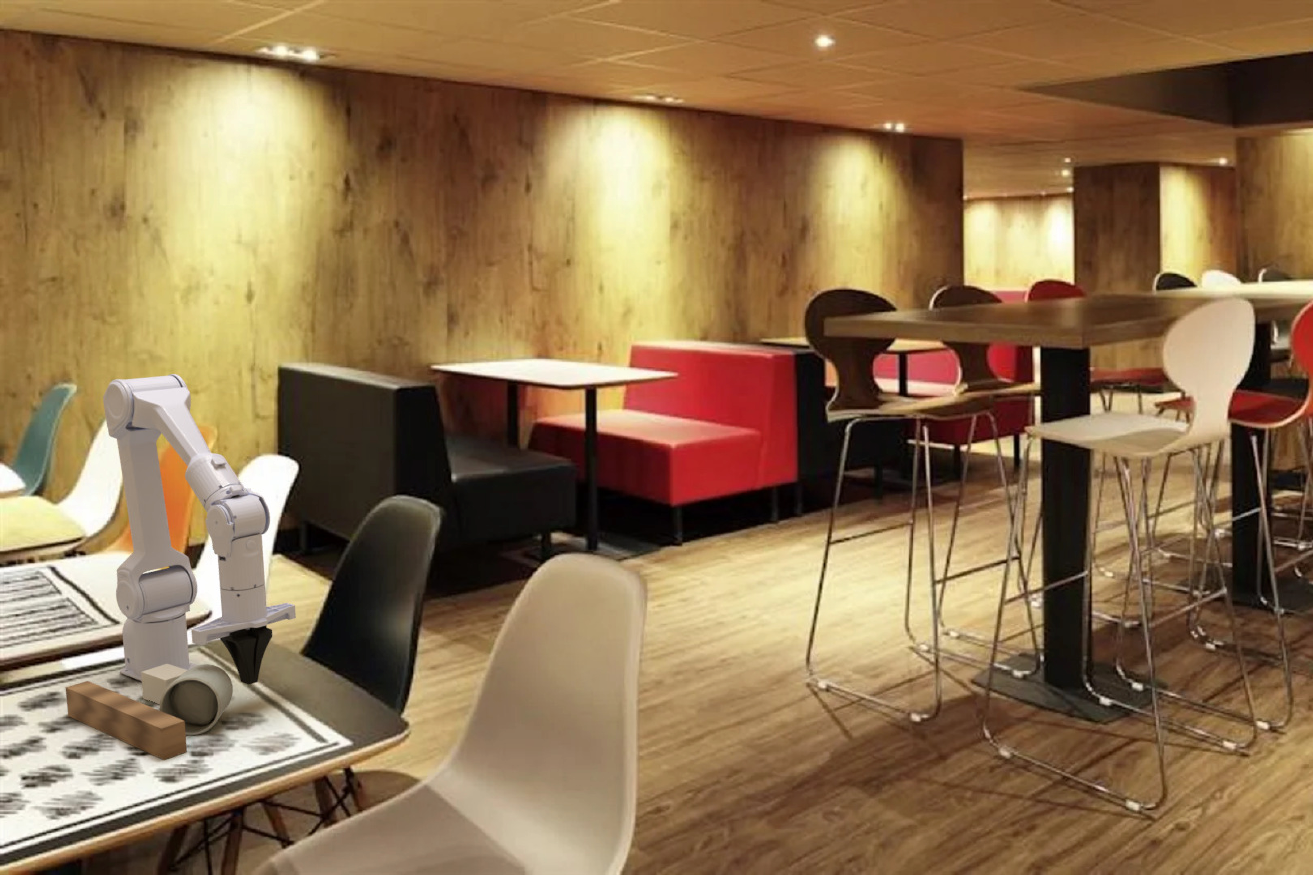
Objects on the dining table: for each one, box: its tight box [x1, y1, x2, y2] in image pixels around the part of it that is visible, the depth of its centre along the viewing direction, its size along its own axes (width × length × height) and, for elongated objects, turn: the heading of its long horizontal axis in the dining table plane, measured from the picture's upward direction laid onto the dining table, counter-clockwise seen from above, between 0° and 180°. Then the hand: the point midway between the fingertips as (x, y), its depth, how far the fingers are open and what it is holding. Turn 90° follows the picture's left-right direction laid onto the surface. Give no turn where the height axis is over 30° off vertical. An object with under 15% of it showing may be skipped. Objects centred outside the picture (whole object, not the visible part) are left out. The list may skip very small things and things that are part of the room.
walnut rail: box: [65, 680, 188, 761], centre depth 150 cm, size 24×3×4 cm, turn 52°
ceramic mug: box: [156, 663, 234, 737], centre depth 153 cm, size 11×8×8 cm
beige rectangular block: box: [141, 664, 187, 705], centre depth 162 cm, size 6×4×4 cm, turn 55°
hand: (249, 681), depth 159 cm, fingers closed
